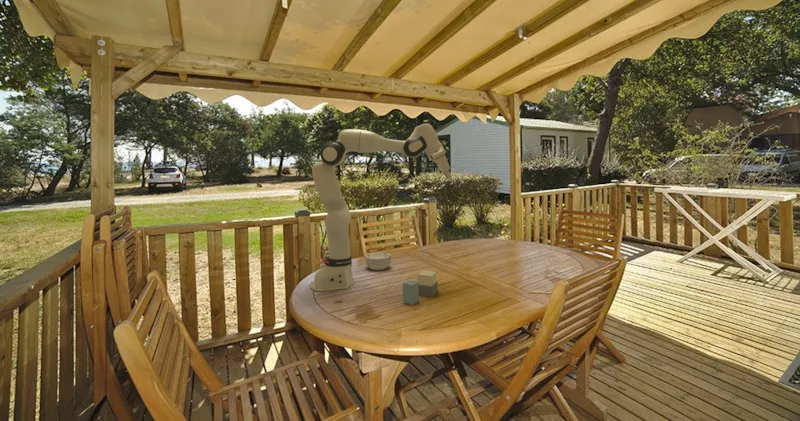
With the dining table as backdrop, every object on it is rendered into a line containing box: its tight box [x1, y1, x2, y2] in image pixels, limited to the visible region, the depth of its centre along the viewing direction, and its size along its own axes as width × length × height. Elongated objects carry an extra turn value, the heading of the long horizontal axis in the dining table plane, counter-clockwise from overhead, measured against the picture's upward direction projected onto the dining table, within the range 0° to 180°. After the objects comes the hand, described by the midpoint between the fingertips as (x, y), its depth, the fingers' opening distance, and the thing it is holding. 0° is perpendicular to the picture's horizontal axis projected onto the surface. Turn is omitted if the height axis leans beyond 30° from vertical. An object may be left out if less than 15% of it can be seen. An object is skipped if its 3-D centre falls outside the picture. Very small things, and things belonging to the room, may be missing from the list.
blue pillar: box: [402, 279, 420, 306], centre depth 162 cm, size 5×5×9 cm
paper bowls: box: [364, 252, 392, 271], centre depth 216 cm, size 15×15×8 cm
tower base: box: [419, 281, 439, 298], centre depth 174 cm, size 8×8×5 cm
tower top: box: [417, 270, 437, 286], centre depth 173 cm, size 7×7×5 cm
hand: (449, 178), depth 181 cm, fingers open, 8 cm apart
